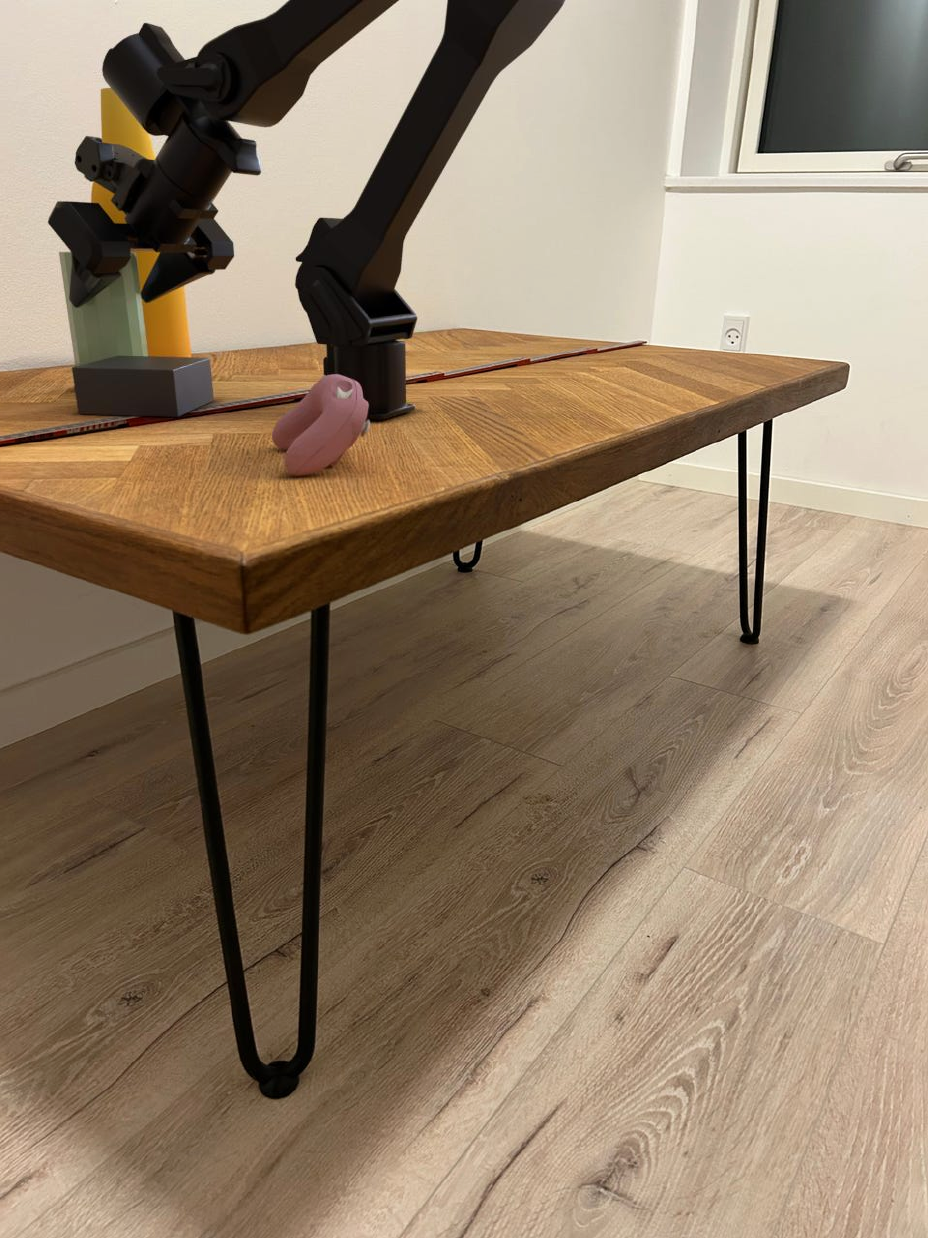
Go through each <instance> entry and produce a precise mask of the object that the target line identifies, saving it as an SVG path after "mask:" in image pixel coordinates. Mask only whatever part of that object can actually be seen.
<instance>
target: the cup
mask: <svg viewBox="0 0 928 1238" xmlns="http://www.w3.org/2000/svg"><path fill="white" fill-rule="evenodd" d="M58 256H59V257H58V258H59V263H60V270H61V271H60V272H61V278H62V283H63V290H64V297H65V306H66V311H67V312H66V313H67V318H68V319H67V320H68V325H69V331H70V339H71V346H72V352H73V359H74V367H75V366H79V365H83V364H87V363H91V362H95V361H99V360H103V359H107V358H111V357H115V356H148V351H147V342H146V333H145V325H144V316H143V307H142V299H141V290H140V282H139V273H138V264H137V256H136V252H131V258H130V260H129V262H128V263H127V265H126V266H125V267H124V268H122V269H120V270H119V272H120V273H121V276H120V277H119V278H118V279H117V280H115V281H114V282H113V283H112V284H110V285H109V286H107V287H106V288H105V289H104V290H102V291H101V292H100V293H99V294H97V295H96V296H95V297H93V298H92V299H91V300H90V301H88V302H87V303H85V304H84V305H82V306H81V307H79V308H75V307H74V306H73V304H72V303H71V302H70V300H69V293H70V279H71V265H72V260H71V251H59V252H58Z"/></svg>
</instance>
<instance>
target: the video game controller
mask: <svg viewBox="0 0 928 1238" xmlns="http://www.w3.org/2000/svg"><path fill="white" fill-rule="evenodd" d="M368 406H369V405H368V402H367V401H366V400H364V398H363V392H362V388H361V386H360V384H359V383H358V382H357V381H355V380H353V379H351V378H347V377H345V376H342V375H338V374H332V375H327V376H325V375H324V374H323V375H322V376H321V378H320V379H319V380H318V382H315V384H313V385H312V387H311V388H310V389H309V390H308V392H307V394H305V396H304V397H303V398H302V399H301V400H300V401H299V402H298V403H297V404H295V406H293V407H292V408H291V409H289V410H288V411H287V412H286V413H284V415H282V416H281V417H280V418H279V419H278V420H277V422H276V424H275V425H274V427H273V428H272V429H273V430H272V432H271V433H272V434H271V440H272V442H273V444H274V445H275V447H276V448H278V449H279V450H281V451H286V452H285V455H284V465H285V468H286V469H287V471H288V472H289V473H290V474H291V475H293V476H296V477H300V476H306V475H311V474H314V473H316V472H319V471H321V470H324V469H325V468H326V467H328V466H329V465H331V466H336V465H338V463H339V462H340V460H341V459H342V457H344V454H345V453H346V452H347V451H348V449H350V448H351V447H352V446H353V445H354V444H355V443H356V441H357V440H358V438H359V437H361V438H364V437H365V436H366V435H367V434H369V432H370V429H371V422H370V421H371V420H370V419H366V417H367V413H368Z"/></svg>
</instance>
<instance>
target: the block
mask: <svg viewBox="0 0 928 1238" xmlns="http://www.w3.org/2000/svg"><path fill="white" fill-rule="evenodd" d="M71 372H72V378H73V385H74V393H75V398H76V406H77V413H78V415H88V416H89V415H91V416H93V415H95V416H97V415H98V416H124V417H125V416H129V417H155V418H156V417H161V418H162V417H163V418H179V417H181V416H183V415H185V414H188V413H190V412H193V411H194V410H196V409H199V408H201V407H203V406H205V405H208V404H210V403H212V402H214V400H215V399H214V389H213V378H212V365H211V357H198V356H197V357H195V356H194V357H193V356H191V357H157V356H115V357H111V358H107V359H103V360H99V361H95V362H91V363H87V364H83V365H79V366H75V365H74V366H72V367H71Z"/></svg>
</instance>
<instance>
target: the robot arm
mask: <svg viewBox="0 0 928 1238" xmlns="http://www.w3.org/2000/svg"><path fill="white" fill-rule="evenodd" d="M399 1H400V0H288V1H286V2H285V3H284V4H283V5H281V6H280V8H278V9H277V10H276V11H274V12H273V13H271V14H269V15H267V16H266V17H264V18H260V19H257V20H253V21H249V22H246V23H243V24H239V25H238V24H237V25H235V26H234V27H232V28H230V29H228V30H226V31H224V32H222V33H221V34H219V35H218V36H216V37H214V38H212V39H211V40H208V41H207V42H206V43H205V44H204V45H203V46H201V48H200V50H199V51H198V53H197V55H196V56H194V57H190V58H186V59H185V58H184V57H183V55H182V54H181V53H180V51H179V50H178V49H177V48H176V46H175V45H174V42H173V41H172V39H171V37H170V36H169V34H168V33H167V31H166V30H164V28H163V27H162V26H158V25H157V24H156V25H155V24H152V23H148V22H143V24H142V26H141V28H140V30H139V32H137V33H134V34H130V35H128V36H126V37H124V38H122V39H121V40H120V41H119V42H118V43H116V44H115V45H114V46H113V47H110V48H109V49H108V50H107V52H106V54H105V56H104V58H103V62H102V68H101V71H102V72H101V73H102V77H103V79H104V81H105V83H106V84H107V85H108V86H109V88H111V89H112V90H113V91H114V92H115V94H116V95H117V96H118V97H119V99H120V100H121V101H122V102H123V104H124V105H125V106H126V107H127V108H128V110H129V111H130V112H131V113H132V115H133V116H134V117H135V118H136V120H137V121H138V122H139V123H140V125H141V126H142V127H143V128H144V130H145V131H146V132H147V133H149V134H150V136H153V137H154V136H155V137H160V136H165V137H167V138H166V140H165V141H164V143H163V145H162V146H161V148H160V150H159V151H158V153H157V155H156V156H155V157H156V158H155V160H150V159H147V158H145V157H143V156H142V155H140V154H138V153H137V152H135V151H134V150H132V149H130V148H128V147H125V146H123V145H119V144H112V143H104V142H102V137H97V136H90V135H85V137H84V138H83V139H82V141H81V142H80V144H79V146H78V147H77V148H76V151H75V158H74V165H75V169H76V170H77V172H79V173H81V174H83V177H84V178H85V179H86V180H87V181H88V182H91V183H93V181H94V182H96V183H97V184H99V185H101V186H102V187H104V188H105V189H107V190H109V191H110V192H112V193H114V196H113V198H112V199H111V202H112V203H113V204H114V205H115V207H116V208H117V209H118V210H119V211H123V212H124V213H125V215H126V216H125V221H126V223H127V224H126V223H114V222H113V220H112V219H111V218H110V217H109V215H108V214H107V213H106V212H105V211H104V209H103V208H102V207H101V206H100V204H99V203H91V202H88V201H72V200H69V201H68V200H63V201H61V200H60V201H59V200H58V201H56V203H55V205H54V207H53V209H52V211H51V213H50V214H49V217H48V219H47V220H48V221H47V224H48V225H49V227H51V229H52V230H53V231H54V233H55V234H56V235H57V236H58V238H59V239H60V240H61V241H62V243H63V244H64V245H65V246H66V248H67V249H68V251H69V252H71V260H72V265H71V279H70V293H69V300H70V302H71V303H72V304H73V306H74V307H75V308H79V307H81V306H82V305H84V304H85V303H87V302H88V301H90V300H91V299H92V298H93V297H95V296H96V295H97V294H99V293H100V292H101V291H102V290H104V289H105V288H106V287H107V286H109V285H110V284H112V283H113V282H114V281H115V280H117V279H118V278H119V277H120V276H121V273H120V272H119V270H120V269H122V268H124V267H125V266H126V265H127V263H128V262H129V260H130V258H131V251H155V252H160V254H159V256H158V258H157V260H156V262H155V264H154V266H153V268H152V270H151V272H150V273H149V275H148V277H147V279H146V281H145V284H144V286H143V288H142V291H141V298H142V299H143V300H144V302H145V303H150V302H152V301H154V300H156V299H158V298H160V297H162V296H164V295H166V294H168V293H170V292H172V291H174V290H176V289H178V288H180V287H182V286H184V287H185V286H187V285H188V284H191V283H193V282H196V281H198V280H200V279H202V278H204V277H206V276H209V275H210V276H211V275H213V274H215V272H216V271H219V270H220V271H221V270H226V269H227V268H228V266H229V265H230V264H231V262H232V261H233V259H234V257H235V246H234V245H235V244H234V242H233V240H232V238H230V236H229V235H228V233H226V231H225V230H224V229H223V228H222V226H221V225H220V224H219V223H218V221H217V220H216V219H215V217H216V216H217V214H218V213H219V209H218V208H217V207H216V206H215V205H214V203H213V202H214V201H215V199H216V197H217V196H218V194H219V193H220V192H221V190H222V188H223V187H224V186H225V184H226V182H227V181H228V179H229V177H231V174H232V173H233V174H240V175H248V176H256V177H258V176H260V175H261V173H262V168H261V161H260V158H259V156H258V152H257V151H258V150H257V147H258V144H257V141H256V140H255V139H254V140H253V139H248V138H243V137H242V136H241V135H240V134H239V132H238V131H237V130H236V129H235V127H234V126H233V125H232V123H237V124H242V125H249V126H253V127H257V128H258V127H259V128H272V127H273V126H275V125H277V124H279V123H280V122H281V121H282V120H283V119H284V118H285V117H286V115H288V113H289V112H290V111H291V110H292V109H293V108H294V106H295V105H296V104H297V103H298V101H299V100H300V99H301V98H302V97H303V96H304V94H305V91H306V88H307V85H308V83H309V80H310V77H311V76H312V75H313V73H314V72H315V71H316V70H317V68H318V67H319V66H320V65H321V64H322V63H323V62H325V61H326V60H327V59H328V58H330V57H331V56H332V55H333V54H335V53H336V52H337V51H338V50H340V49H341V48H342V47H343V46H344V45H346V44H347V43H348V42H349V41H351V40H352V39H353V38H354V37H356V35H359V34H360V33H361V32H362V31H363V30H364V29H366V28H367V27H368V26H369V25H371V24H372V23H373V22H374V21H376V20H377V19H378V18H379V17H380V16H382V15H383V14H384V13H385V12H386V11H388V10H389V9H391V8H392V7H393V6H394V5H395V4H397V3H398V2H399ZM565 2H566V0H447V2H446V10H445V19H444V20H445V21H444V28H443V33H442V37H441V39H440V42H439V44H438V46H437V48H436V50H435V52H434V53H433V55H432V57H431V60H430V61H429V63H428V64H427V67H426V69H425V71H424V72H423V75H422V77H421V79H420V81H419V82H418V84H417V86H416V88H415V90H414V92H413V94H412V96H411V98H410V100H409V102H408V103H407V105H406V107H405V109H404V111H403V113H402V115H401V117H400V119H399V120H398V122H397V124H396V126H395V128H394V130H393V132H392V134H391V136H390V138H389V139H388V141H387V144H386V145H385V147H384V150H383V151H382V153H381V155H380V157H379V159H378V161H377V162H376V165H375V167H374V168H373V170H372V172H371V174H370V177H369V178H368V180H367V182H366V184H365V185H364V188H363V189H362V192H361V194H360V195H359V197H358V199H357V200H356V203H355V204H354V206H353V208H352V209H351V211H350V212H348V214H346V215H345V216H344V217H342V218H340V217H339V218H338V217H336V218H335V217H319V218H318V219H317V220H316V222H315V223H314V225H313V226H312V230H311V233H310V236H309V239H308V241H307V243H306V246H305V247H304V249H303V250H302V252H300V253H299V254H298V255H297V256H295V261H296V262H297V263H300V265H299V267H298V269H297V272H296V275H295V281H294V287H295V289H296V290H297V294H298V300H299V302H300V304H301V307H302V308H303V311H305V313H306V315H307V319H308V321H309V324H310V326H311V330H312V332H313V336H314V338H315V341H316V343H317V344H318V345H325V346H326V347H325V348H326V356H325V357H324V358H323V359H322V367H323V376H324V375H325V376H327V375H332V374H338V375H342V376H345V377H347V378H351V379H353V380H355V381H357V382H358V383H359V384H360V386H361V388H362V392H363V398H364V400H366V401H367V402H368V405H369V406H368V413H367V417H366V420H376V421H380V420H381V421H383V420H386V419H389V418H392V417H395V416H399V415H402V414H405V413H409V412H413V411H415V410H416V404H414V403H407V363H406V361H407V360H406V359H407V357H406V355H407V354H406V353H407V352H406V341H404V340H409V339H412V338H413V334H414V331H415V328H416V325H417V321H418V315H417V314H416V312H415V311H414V310H413V309H412V308H411V306H410V305H409V304H408V302H407V301H406V300H405V299H404V298H403V297H402V296H401V294H400V293H399V292H398V290H396V285H397V284H398V281H399V278H400V276H401V271H402V265H403V254H404V253H403V252H404V244H405V240H406V236H407V234H408V233H409V232H410V229H411V228H412V226H413V224H414V222H415V221H416V219H417V217H418V215H419V213H420V212H421V210H422V208H423V206H424V204H425V203H426V201H427V199H428V197H429V196H430V194H431V192H432V190H433V189H434V187H435V185H436V184H437V182H438V180H439V178H440V177H441V174H442V173H443V171H444V170H445V167H446V166H447V164H448V162H449V160H450V159H451V157H452V156H453V154H454V151H456V149H457V146H458V144H459V143H460V141H461V139H462V138H463V136H464V134H465V132H466V130H467V129H468V128H469V126H470V123H471V122H472V120H473V118H474V116H475V115H476V113H477V111H478V110H479V108H480V106H481V104H482V102H483V101H484V99H485V97H486V95H487V94H488V92H489V90H490V88H491V87H492V85H493V84H494V81H495V79H496V78H497V77H498V76H499V74H500V73H502V72H503V70H505V69H506V68H507V67H508V66H509V65H510V64H512V63H513V62H514V61H515V60H517V59H518V58H519V57H520V56H521V55H522V54H524V53H525V52H526V51H527V50H529V49H530V48H531V47H532V46H533V44H535V42H536V41H537V40H538V38H539V37H540V36H541V34H542V33H543V32H544V31H545V30H546V28H548V26H549V24H551V22H552V21H553V19H554V18H555V17H556V16H557V14H558V13H559V12H560V11H561V9H562V7H563V6H564V4H565ZM230 122H231V123H230Z"/></svg>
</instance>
